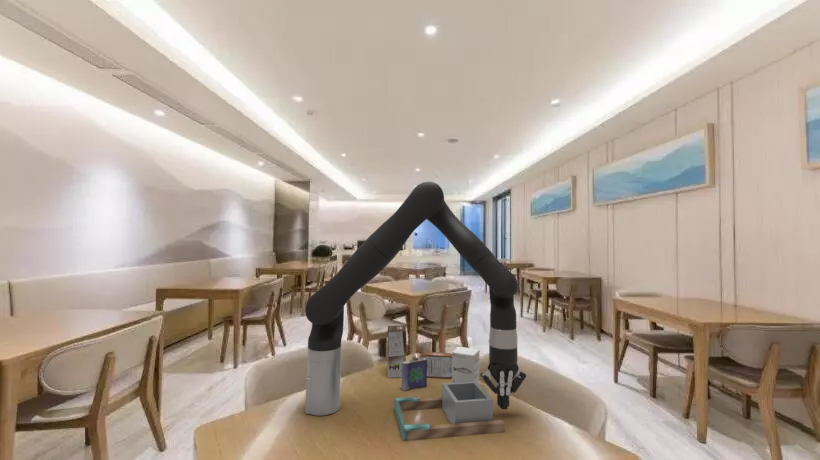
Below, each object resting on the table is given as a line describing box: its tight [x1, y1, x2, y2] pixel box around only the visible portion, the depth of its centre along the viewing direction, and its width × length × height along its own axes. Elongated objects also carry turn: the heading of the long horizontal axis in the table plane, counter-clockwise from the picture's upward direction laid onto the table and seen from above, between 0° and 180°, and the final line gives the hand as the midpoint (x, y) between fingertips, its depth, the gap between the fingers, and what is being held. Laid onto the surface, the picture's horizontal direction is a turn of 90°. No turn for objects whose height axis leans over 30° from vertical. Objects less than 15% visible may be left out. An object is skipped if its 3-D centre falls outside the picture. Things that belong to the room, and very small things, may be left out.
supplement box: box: [451, 346, 480, 385], centre depth 114 cm, size 7×7×13 cm
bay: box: [393, 396, 505, 442], centre depth 94 cm, size 25×17×3 cm, turn 100°
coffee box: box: [386, 324, 407, 379], centre depth 128 cm, size 9×6×16 cm
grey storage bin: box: [441, 382, 494, 424], centre depth 95 cm, size 10×12×7 cm
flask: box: [401, 353, 428, 392], centre depth 115 cm, size 9×3×11 cm, turn 121°
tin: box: [417, 351, 452, 379], centre depth 124 cm, size 15×3×8 cm, turn 84°
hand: (503, 407), depth 97 cm, fingers closed
